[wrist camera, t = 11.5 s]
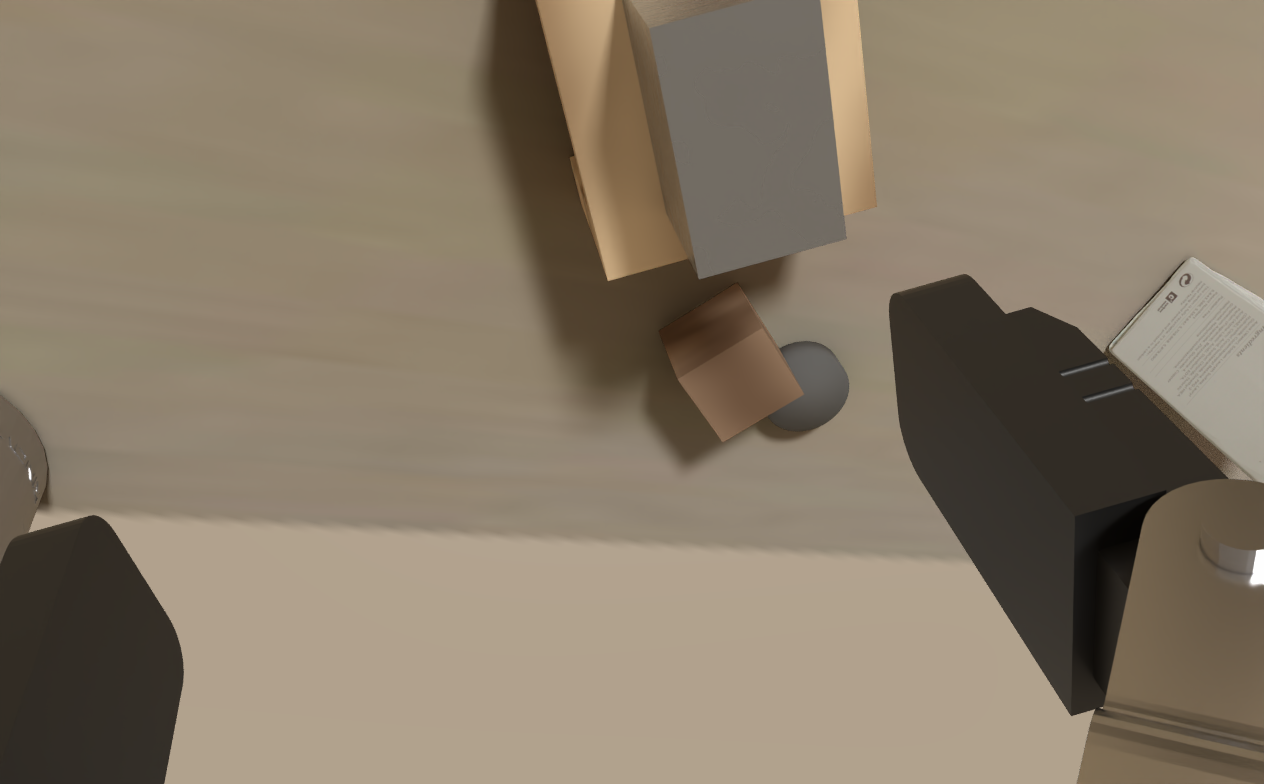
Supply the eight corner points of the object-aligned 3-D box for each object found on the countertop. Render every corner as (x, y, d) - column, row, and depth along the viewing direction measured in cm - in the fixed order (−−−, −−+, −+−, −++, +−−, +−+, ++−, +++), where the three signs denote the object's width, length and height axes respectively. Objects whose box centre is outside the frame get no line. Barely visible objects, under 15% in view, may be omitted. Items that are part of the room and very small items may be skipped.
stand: (582, 207, 46) (608, 280, 41) (501, -105, 40) (520, -64, 34) (820, 141, 47) (876, 206, 41) (782, -179, 40) (843, -150, 35)
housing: (618, -18, 36) (649, 28, 31) (768, -58, 36) (818, -18, 32) (666, 213, 40) (698, 279, 36) (798, 176, 40) (846, 238, 36)
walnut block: (701, 391, 52) (722, 442, 49) (658, 330, 50) (677, 379, 47) (777, 345, 52) (804, 394, 49) (736, 281, 50) (762, 327, 46)
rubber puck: (759, 422, 54) (767, 440, 53) (749, 350, 52) (759, 368, 51) (840, 401, 54) (851, 419, 53) (835, 329, 52) (846, 346, 51)
